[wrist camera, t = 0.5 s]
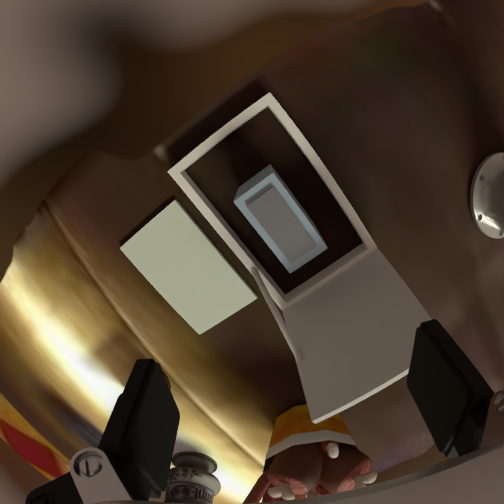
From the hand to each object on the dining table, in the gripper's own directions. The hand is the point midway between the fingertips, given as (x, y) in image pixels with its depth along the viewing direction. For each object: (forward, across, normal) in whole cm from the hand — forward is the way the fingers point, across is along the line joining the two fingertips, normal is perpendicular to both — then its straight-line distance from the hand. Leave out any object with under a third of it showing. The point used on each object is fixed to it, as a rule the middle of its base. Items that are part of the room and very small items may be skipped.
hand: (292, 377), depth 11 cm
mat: (+29, +10, +8) cm, 32 cm away
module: (+29, -2, +1) cm, 29 cm away
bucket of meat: (+29, -3, +39) cm, 49 cm away
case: (+29, -3, +3) cm, 29 cm away
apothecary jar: (+29, +21, +52) cm, 64 cm away
